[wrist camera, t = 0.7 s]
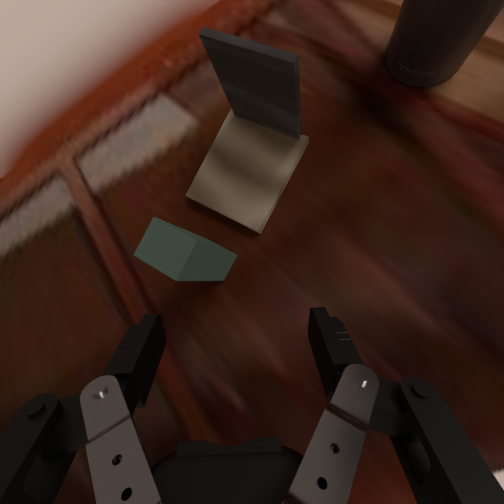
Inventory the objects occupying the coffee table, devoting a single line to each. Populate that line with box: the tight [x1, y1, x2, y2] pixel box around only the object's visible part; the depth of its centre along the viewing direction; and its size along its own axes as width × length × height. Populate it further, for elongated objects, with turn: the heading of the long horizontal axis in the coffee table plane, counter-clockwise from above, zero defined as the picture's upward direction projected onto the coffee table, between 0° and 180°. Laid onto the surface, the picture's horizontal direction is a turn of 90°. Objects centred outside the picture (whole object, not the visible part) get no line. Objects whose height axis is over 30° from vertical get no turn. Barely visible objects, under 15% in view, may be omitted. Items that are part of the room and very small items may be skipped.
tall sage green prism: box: [134, 217, 237, 281], centre depth 29 cm, size 4×5×13 cm
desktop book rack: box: [186, 27, 309, 234], centre depth 29 cm, size 14×12×14 cm
